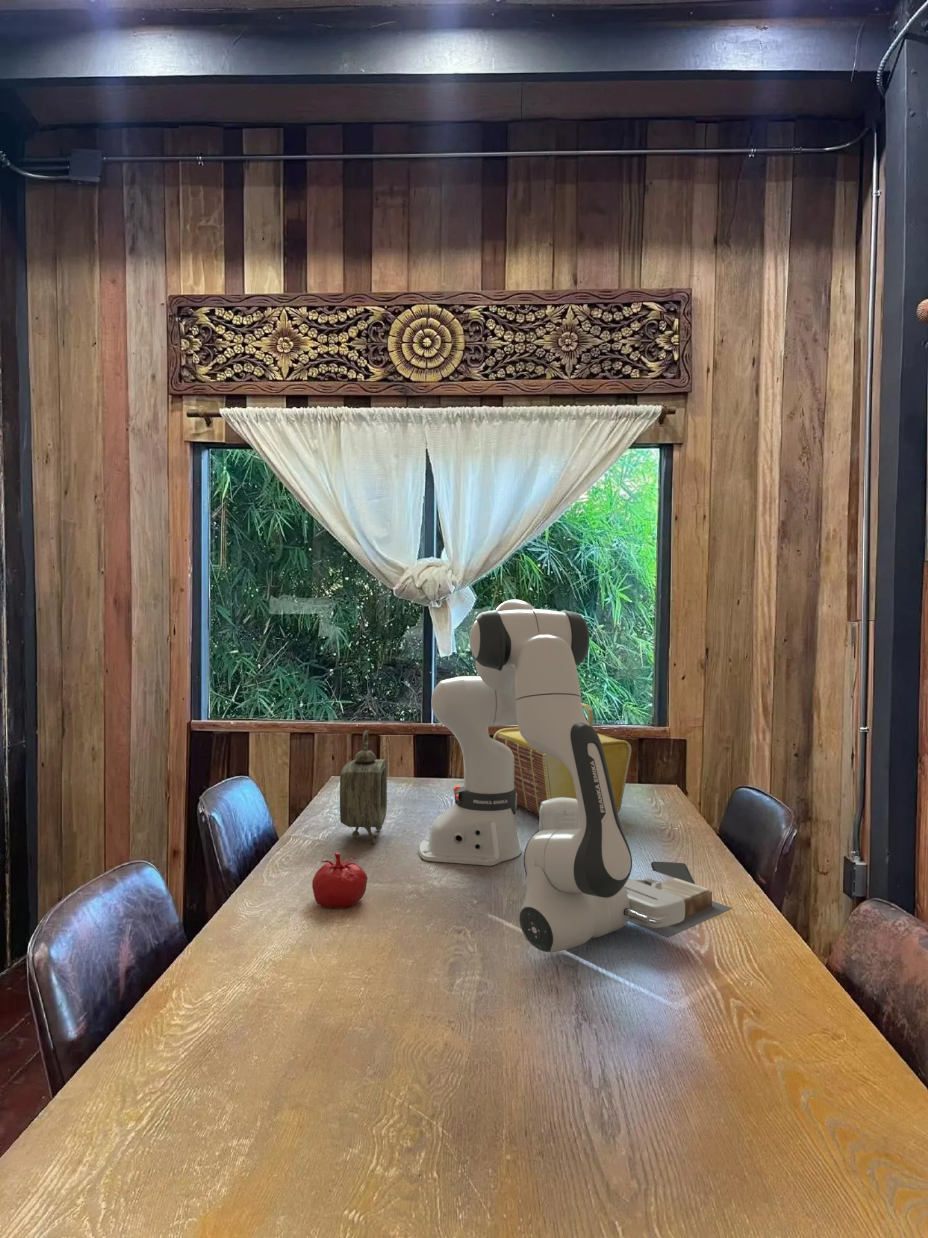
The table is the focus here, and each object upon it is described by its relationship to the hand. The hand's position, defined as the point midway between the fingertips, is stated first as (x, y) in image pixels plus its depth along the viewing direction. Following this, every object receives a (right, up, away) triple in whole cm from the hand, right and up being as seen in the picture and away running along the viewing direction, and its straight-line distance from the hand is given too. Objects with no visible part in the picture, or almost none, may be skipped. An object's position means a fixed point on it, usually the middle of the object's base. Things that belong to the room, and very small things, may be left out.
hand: (655, 884), depth 138 cm
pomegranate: (-57, -6, +7) cm, 57 cm away
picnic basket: (-9, -4, +67) cm, 68 cm away
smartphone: (+9, -6, +21) cm, 23 cm away
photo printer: (-12, -5, +34) cm, 36 cm away
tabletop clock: (-57, -4, +45) cm, 73 cm away
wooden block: (0, -4, 0) cm, 4 cm away
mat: (+3, -6, +3) cm, 7 cm away
